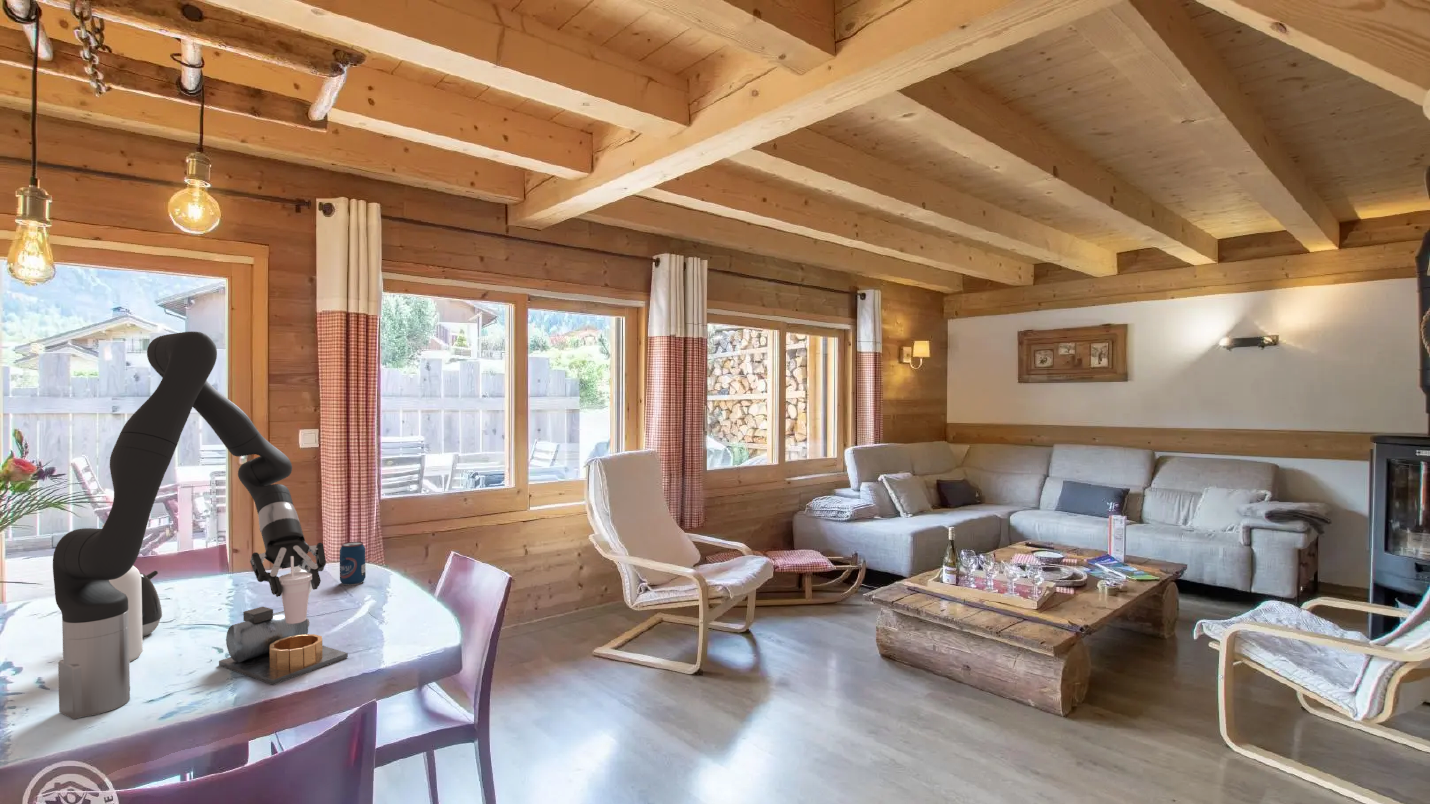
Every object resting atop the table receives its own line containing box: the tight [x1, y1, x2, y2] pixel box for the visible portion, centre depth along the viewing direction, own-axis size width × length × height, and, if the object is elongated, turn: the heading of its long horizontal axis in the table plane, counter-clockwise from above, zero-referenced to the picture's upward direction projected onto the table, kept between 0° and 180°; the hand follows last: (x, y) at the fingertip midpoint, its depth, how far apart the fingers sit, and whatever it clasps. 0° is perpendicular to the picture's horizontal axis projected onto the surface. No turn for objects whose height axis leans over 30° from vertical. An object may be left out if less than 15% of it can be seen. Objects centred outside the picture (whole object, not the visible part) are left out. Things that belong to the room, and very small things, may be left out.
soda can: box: [339, 541, 366, 586], centre depth 211 cm, size 7×7×12 cm
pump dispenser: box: [140, 570, 163, 638], centre depth 166 cm, size 10×10×15 cm
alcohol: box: [101, 523, 144, 663], centre depth 152 cm, size 9×9×30 cm
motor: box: [218, 606, 349, 686], centre depth 151 cm, size 16×20×11 cm
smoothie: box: [278, 556, 312, 624], centre depth 149 cm, size 6×6×14 cm
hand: (298, 590), depth 148 cm, fingers closed on smoothie, 6 cm apart
